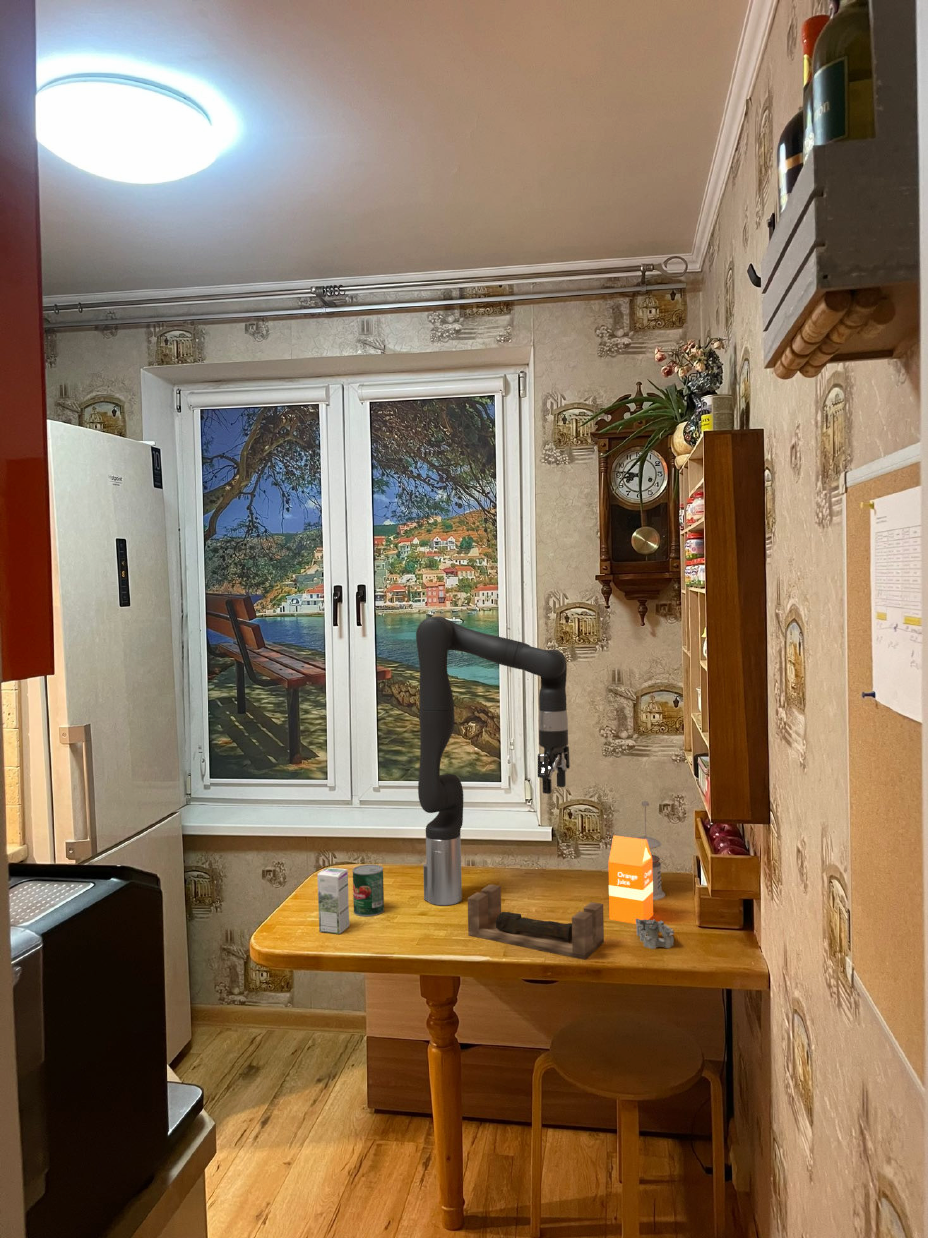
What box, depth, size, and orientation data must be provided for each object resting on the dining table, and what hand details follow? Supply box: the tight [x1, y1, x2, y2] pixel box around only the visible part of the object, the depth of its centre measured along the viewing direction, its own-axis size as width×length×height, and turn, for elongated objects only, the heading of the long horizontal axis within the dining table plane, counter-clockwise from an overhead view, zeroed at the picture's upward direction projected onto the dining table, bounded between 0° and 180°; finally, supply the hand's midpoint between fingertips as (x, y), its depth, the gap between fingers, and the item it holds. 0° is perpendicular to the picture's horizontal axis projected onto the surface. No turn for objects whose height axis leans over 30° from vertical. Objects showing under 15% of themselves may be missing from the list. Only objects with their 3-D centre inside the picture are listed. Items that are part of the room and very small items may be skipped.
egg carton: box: [635, 918, 675, 950], centre depth 209 cm, size 11×8×4 cm
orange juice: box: [608, 835, 654, 925], centre depth 223 cm, size 8×9×20 cm
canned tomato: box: [352, 863, 385, 918], centre depth 232 cm, size 8×8×11 cm
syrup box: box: [316, 867, 350, 935], centre depth 220 cm, size 6×6×14 cm
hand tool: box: [496, 911, 572, 942], centre depth 211 cm, size 19×4×5 cm, turn 64°
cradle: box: [467, 884, 605, 961], centre depth 211 cm, size 30×11×9 cm, turn 59°
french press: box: [637, 800, 666, 901], centre depth 239 cm, size 10×12×25 cm
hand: (554, 790), depth 232 cm, fingers open, 8 cm apart
